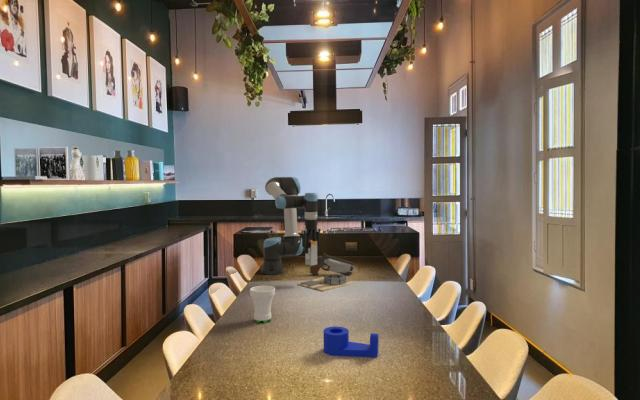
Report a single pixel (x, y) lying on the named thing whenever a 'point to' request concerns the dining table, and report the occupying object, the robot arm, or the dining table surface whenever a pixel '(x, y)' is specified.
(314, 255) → the block
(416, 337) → the dining table surface
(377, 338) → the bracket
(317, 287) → the board
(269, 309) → the cup
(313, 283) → the pad
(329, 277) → the grey octagonal ring
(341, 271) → the gun
